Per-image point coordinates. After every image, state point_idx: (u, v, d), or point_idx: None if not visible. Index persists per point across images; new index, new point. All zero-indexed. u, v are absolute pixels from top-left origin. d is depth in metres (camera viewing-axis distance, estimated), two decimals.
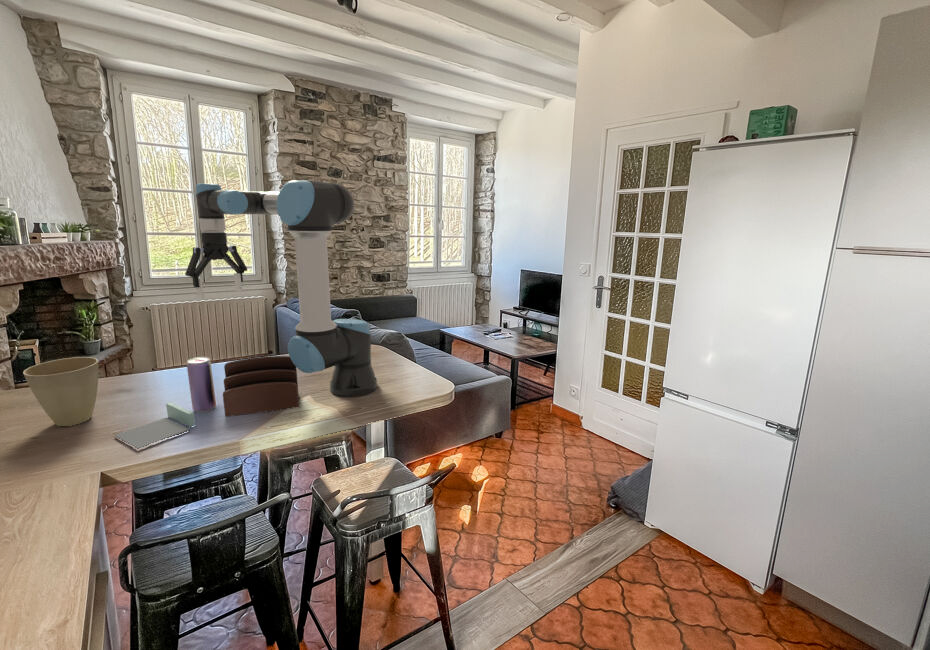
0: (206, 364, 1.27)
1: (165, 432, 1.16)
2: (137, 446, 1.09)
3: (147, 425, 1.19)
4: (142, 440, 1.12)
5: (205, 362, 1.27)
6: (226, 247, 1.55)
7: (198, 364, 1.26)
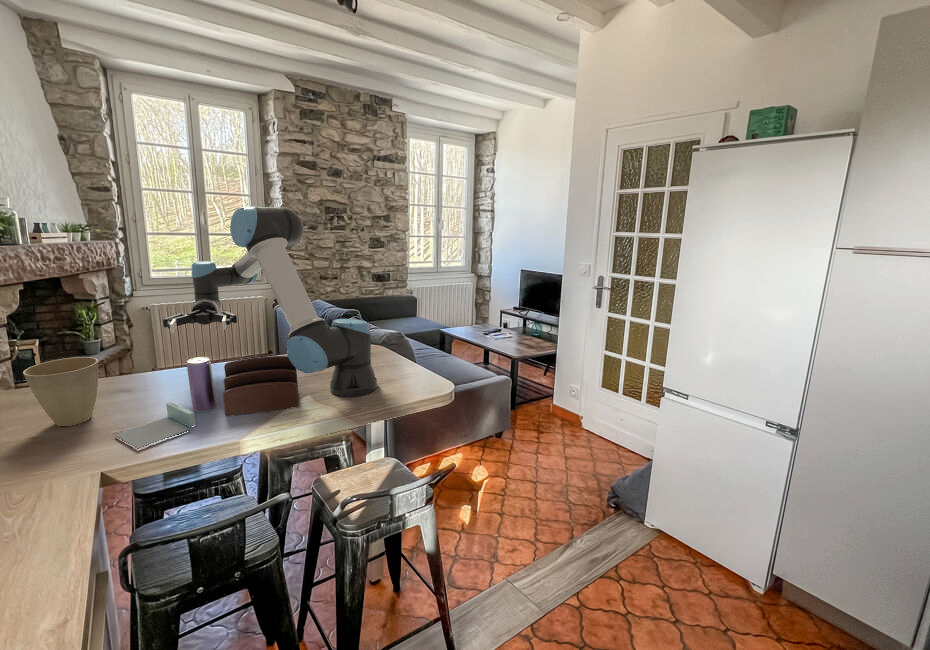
0: (206, 364, 1.27)
1: (165, 432, 1.16)
2: (137, 446, 1.09)
3: (147, 425, 1.19)
4: (142, 440, 1.12)
5: (205, 362, 1.27)
6: (214, 311, 1.50)
7: (198, 364, 1.26)
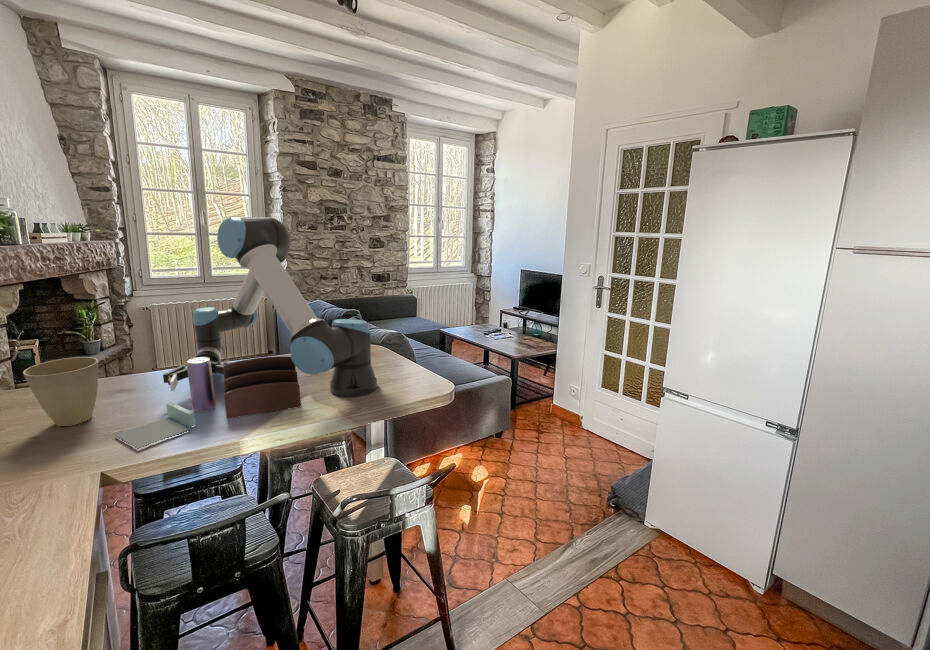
0: (206, 364, 1.27)
1: (165, 432, 1.16)
2: (137, 446, 1.09)
3: (147, 425, 1.19)
4: (142, 440, 1.12)
5: (205, 362, 1.27)
6: (216, 361, 1.45)
7: (198, 364, 1.26)
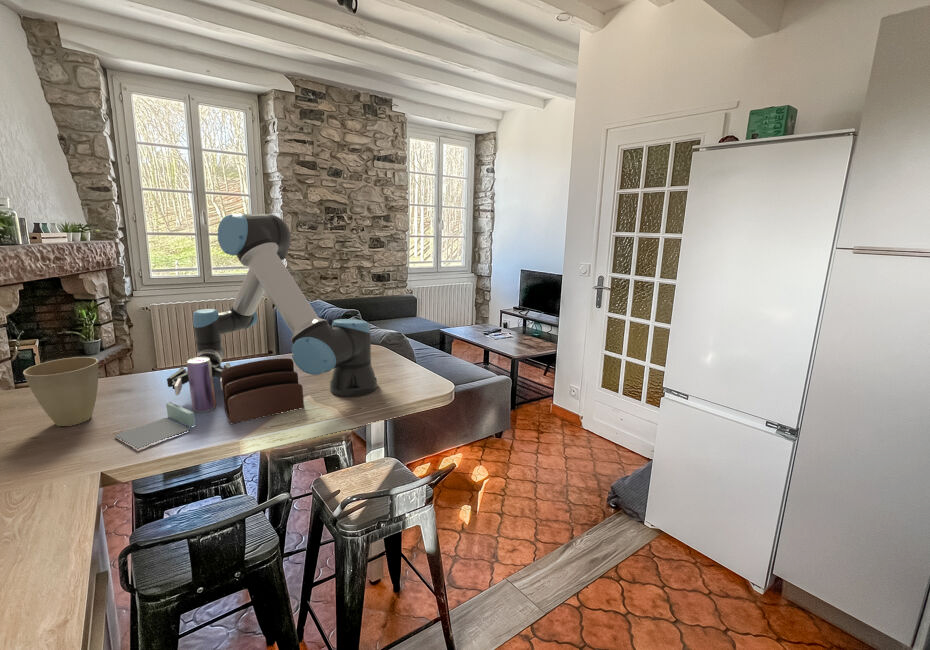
0: (206, 364, 1.27)
1: (165, 432, 1.16)
2: (137, 446, 1.09)
3: (147, 425, 1.19)
4: (142, 440, 1.12)
5: (205, 362, 1.27)
6: (217, 364, 1.42)
7: (198, 364, 1.26)
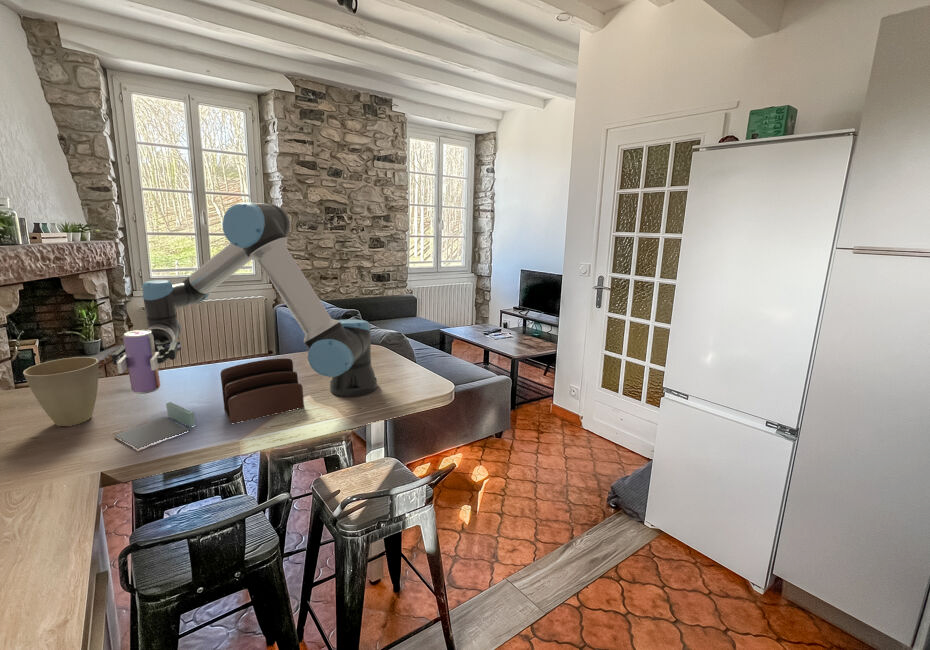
0: (146, 337, 1.10)
1: (165, 432, 1.16)
2: (137, 446, 1.09)
3: (147, 425, 1.19)
4: (142, 440, 1.12)
5: (145, 335, 1.09)
6: (167, 341, 1.24)
7: (136, 337, 1.08)
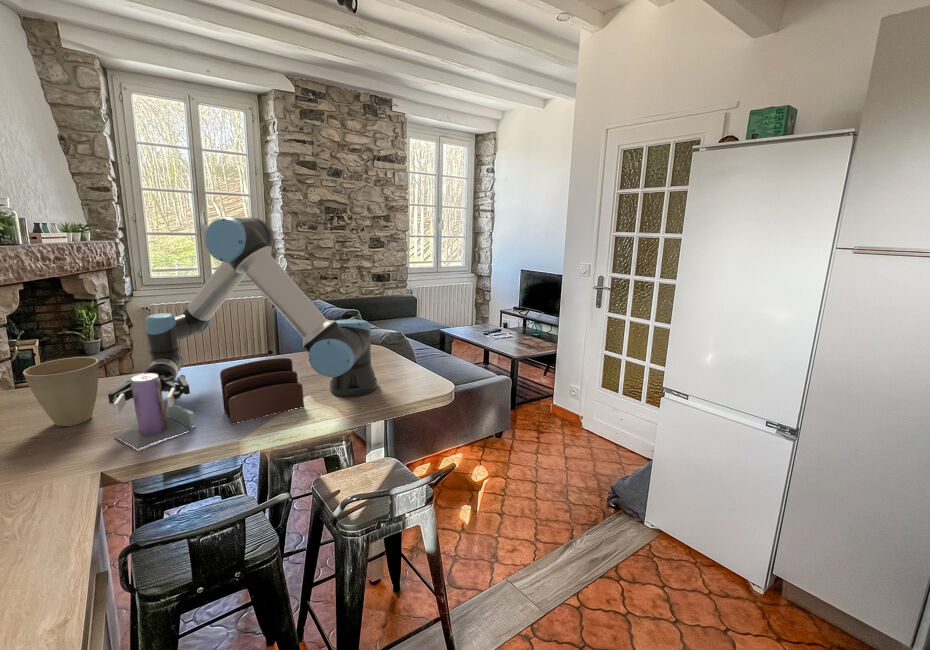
0: (154, 381, 1.12)
1: (165, 432, 1.16)
2: (137, 446, 1.09)
3: None
4: (142, 440, 1.12)
5: (152, 379, 1.12)
6: (170, 376, 1.26)
7: (144, 382, 1.10)
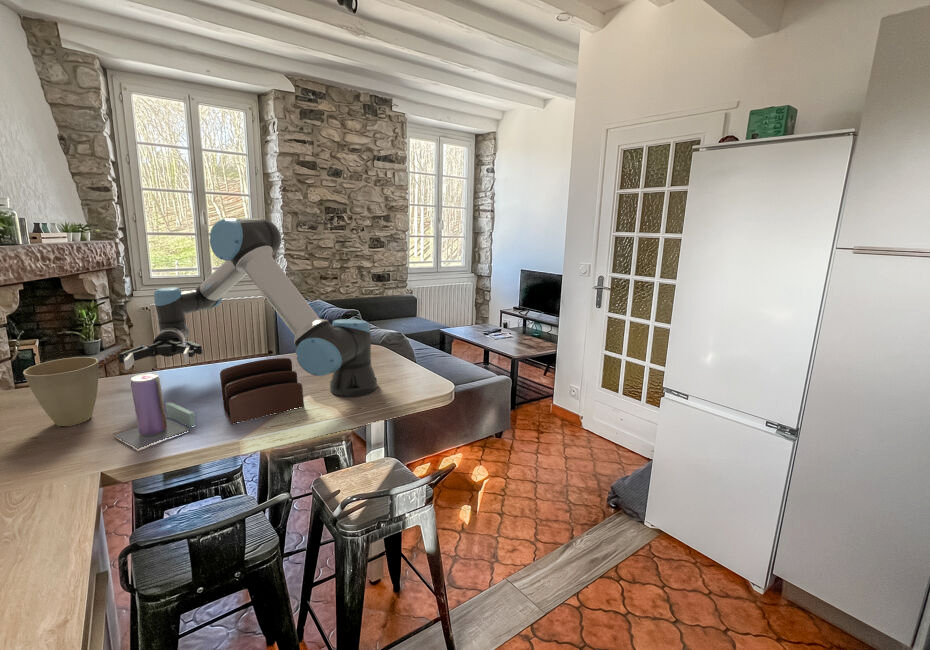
0: (153, 381, 1.12)
1: (165, 432, 1.16)
2: (137, 446, 1.09)
3: None
4: (142, 440, 1.12)
5: (152, 379, 1.12)
6: (178, 341, 1.38)
7: (143, 382, 1.10)
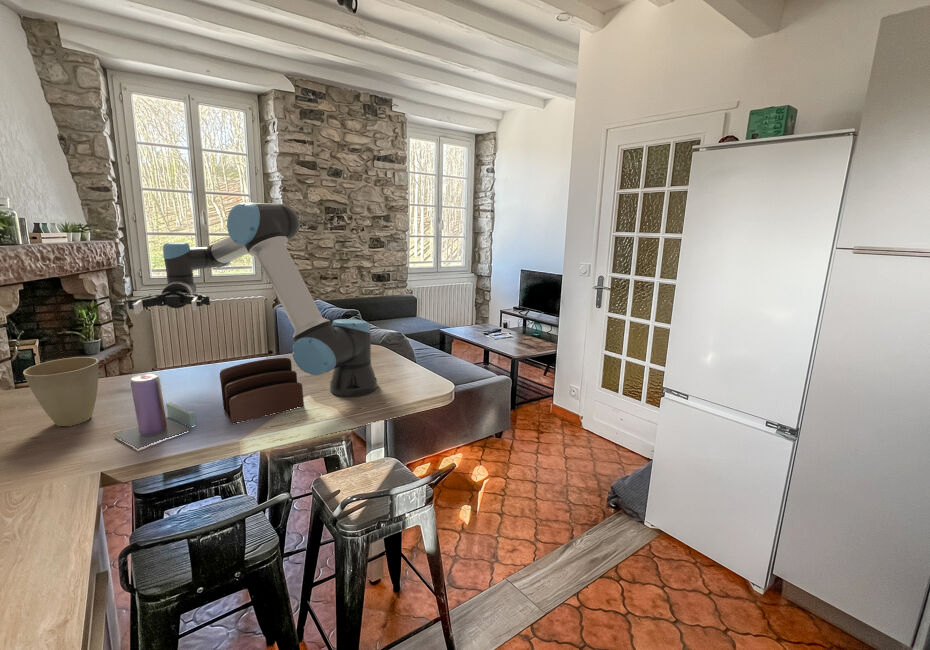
0: (154, 381, 1.12)
1: (165, 432, 1.16)
2: (137, 446, 1.09)
3: None
4: (142, 440, 1.12)
5: (152, 379, 1.12)
6: (186, 293, 1.40)
7: (144, 382, 1.10)
